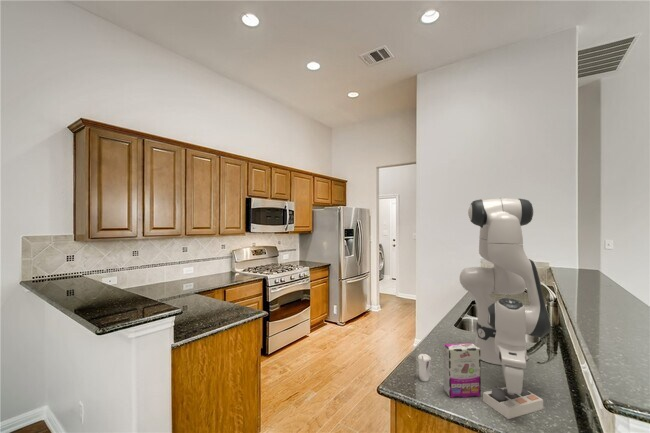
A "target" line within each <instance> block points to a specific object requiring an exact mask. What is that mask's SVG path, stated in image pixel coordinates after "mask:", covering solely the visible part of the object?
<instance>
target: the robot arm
mask: <svg viewBox="0 0 650 433" xmlns="http://www.w3.org/2000/svg"><path fill="white" fill-rule="evenodd" d="M467 212H468V213H467V214H468V218H469V220H470V222H471V224H473V225H474V226H478V227H479V236H478V237H479V242H478V244H479V245H478V254H479V255H480V257H481V258H482V259H484V260H485V261H488V262H489V263H491V264H493V267H483V266H482V267H481V266H472V267H465V268H464V269H462V270H461V272H460V274H459V284H461V287H462V288H463V289H464V290H465V291H467V292H468V293H469V294H470V296H472V298H473V299H474V300H473V301H474V302H475V305H476V311H477V316H476V317H477V321H476V324H475V327H476V329H475V330H476V333H475V340H474V341H475V342H474V344H475V345H476V346H477V347H479V348H480V361H483V362H486V363H488V364H493V365H499V366H501V368H502V374H503V378H504V382H505V387H506V389H507V393H508V394H510V395H514V393H516V394H521V392H522V387H524V386H523V385H524V384H523V383H524V373H525V372H524V370H525V369H526V368H527V361H528V360H529V356H528V355H527V353H528V352H527V340H526V335H527V336H531V337H534V338H543V337H545V336H546V335H548V334H549V333H551V329H552V323H551V319H550V316H549V312H548V309H547V306H546V302H545V297H544V292H543V287H542V284H541V281H540V280H541V279H540V276H539V272H538V269H537V266H536V264H535V262H534V260H533V259H530V258H528V256H527V254H526V253H525V249H524V241H523V240H524V239H523V231H522V226H526V225H528V224H530V223H531V222H532V220H533V216H534V208H533V204H532V203H531V201H530V200H528V199H525V198H505V197H503V198H502V197H499V198H489V199H483V198H481V199H475V200H473V201H472V202H471V203H470V204H469V208H468V211H467ZM525 290H526V291H527V296H528V301H529V304H527V305H524V304H523V303H522V302H521V301H520V300H517V299H514V298H510V297H509V298H508V297H507V298H506V297H505V298H500V299H498V300H495V299H493V298H492V297H491V295H492V294H496V295H497V294H498V295H508V296H509V295H518V294H519V295H520V294H523V293H524V292H525Z"/></svg>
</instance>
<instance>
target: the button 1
mask: <svg viewBox="0 0 650 433" xmlns="http://www.w3.org/2000/svg"><path fill="white" fill-rule="evenodd" d="M491 390H492V398H493V399H495V400H496V401H498V402H503V401H505V391H504V390H502V389H500V387H492V388H491Z"/></svg>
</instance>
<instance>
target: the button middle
mask: <svg viewBox="0 0 650 433" xmlns="http://www.w3.org/2000/svg"><path fill="white" fill-rule="evenodd" d="M504 391H505V396H507V397H508V398H510V399H515V398H517V394H516V393H514V395H510V394H508V393H507V389H504Z"/></svg>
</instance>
